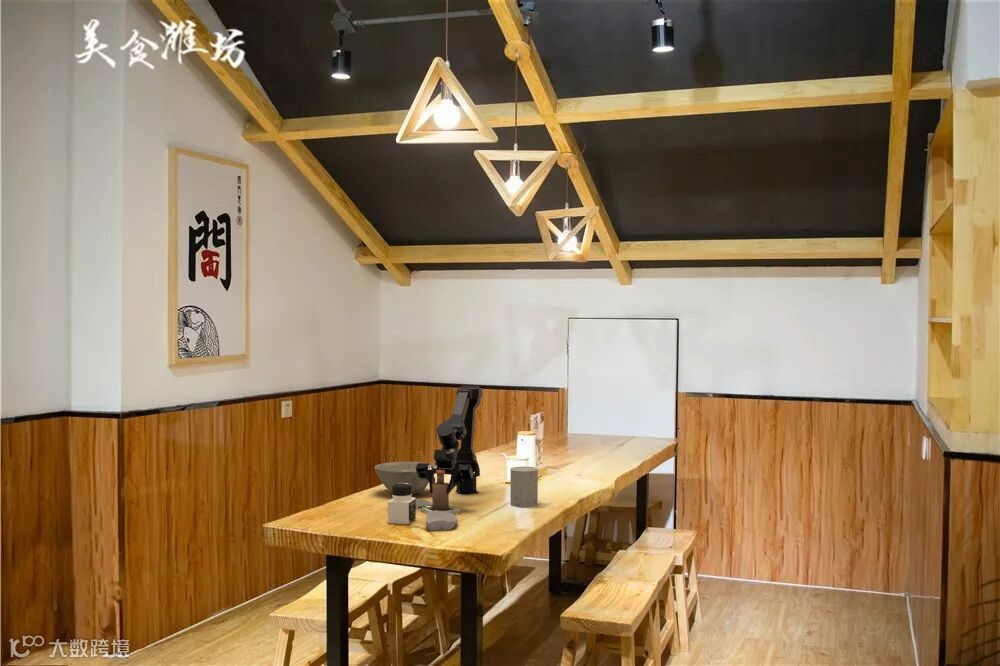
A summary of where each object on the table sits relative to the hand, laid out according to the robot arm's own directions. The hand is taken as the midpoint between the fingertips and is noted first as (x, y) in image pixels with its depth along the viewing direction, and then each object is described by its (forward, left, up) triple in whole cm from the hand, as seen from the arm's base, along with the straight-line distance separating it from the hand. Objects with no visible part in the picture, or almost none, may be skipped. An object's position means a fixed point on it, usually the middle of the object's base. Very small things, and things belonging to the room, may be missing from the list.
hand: (439, 492), depth 296 cm
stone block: (+7, +16, -7) cm, 19 cm away
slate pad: (+1, -16, -7) cm, 17 cm away
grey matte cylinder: (-31, +2, -7) cm, 32 cm away
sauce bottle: (-1, -1, -7) cm, 7 cm away
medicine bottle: (+16, +4, -7) cm, 18 cm away
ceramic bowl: (-4, -36, -7) cm, 36 cm away
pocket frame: (-1, -1, -7) cm, 7 cm away
